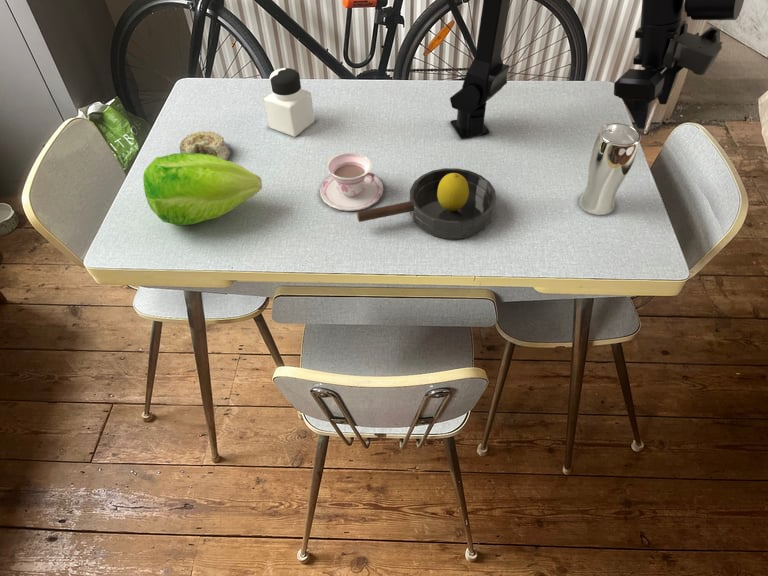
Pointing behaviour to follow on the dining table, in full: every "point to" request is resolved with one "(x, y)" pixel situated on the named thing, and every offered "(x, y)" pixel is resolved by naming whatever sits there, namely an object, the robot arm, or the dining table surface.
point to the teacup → (350, 183)
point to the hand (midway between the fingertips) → (652, 115)
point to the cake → (205, 144)
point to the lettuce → (196, 187)
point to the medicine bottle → (288, 103)
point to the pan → (452, 223)
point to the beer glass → (609, 166)
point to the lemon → (453, 192)
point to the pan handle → (385, 211)
